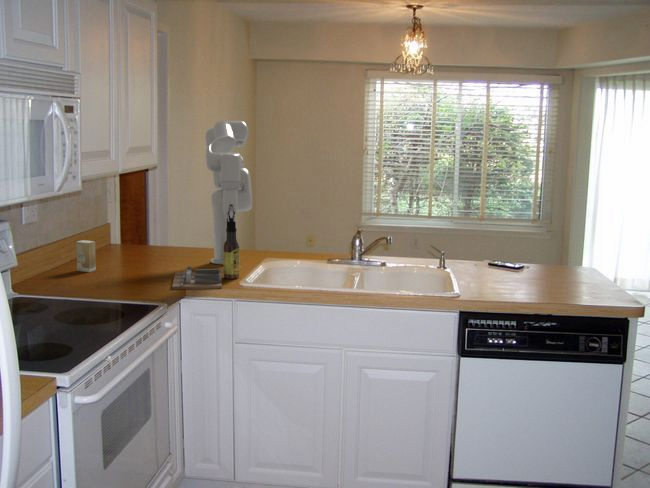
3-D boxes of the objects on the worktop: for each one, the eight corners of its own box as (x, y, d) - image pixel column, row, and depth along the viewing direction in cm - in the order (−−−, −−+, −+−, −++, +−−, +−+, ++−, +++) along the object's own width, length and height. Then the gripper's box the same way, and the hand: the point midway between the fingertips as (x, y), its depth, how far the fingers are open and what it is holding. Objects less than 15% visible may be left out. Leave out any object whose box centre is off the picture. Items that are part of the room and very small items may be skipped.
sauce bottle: (236, 279, 265) (235, 229, 262) (221, 279, 266) (220, 228, 263) (241, 276, 272) (241, 227, 268) (226, 275, 273) (226, 226, 269)
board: (175, 274, 272) (175, 265, 272) (221, 273, 275) (221, 264, 274) (171, 289, 249) (171, 278, 248) (221, 288, 252) (221, 277, 251)
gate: (187, 277, 264) (187, 266, 263) (191, 277, 264) (191, 266, 264) (186, 283, 254) (186, 272, 254) (190, 283, 255) (190, 271, 254)
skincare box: (76, 271, 276) (75, 241, 274) (83, 269, 281) (82, 239, 278) (90, 272, 274) (88, 242, 272) (96, 270, 278) (95, 240, 276)
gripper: (220, 184, 270) (221, 227, 273) (220, 187, 253) (221, 233, 256) (239, 184, 271) (240, 226, 274) (241, 187, 254) (241, 233, 257)
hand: (231, 230), depth 265 cm, fingers open, 9 cm apart
